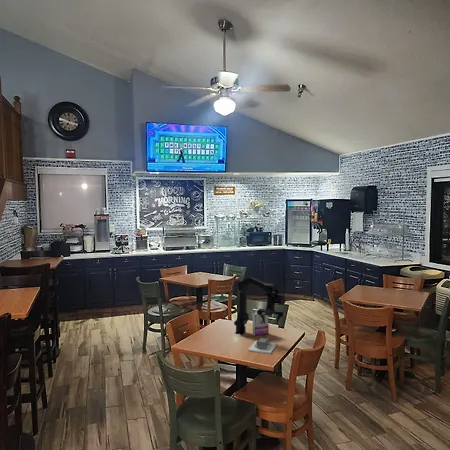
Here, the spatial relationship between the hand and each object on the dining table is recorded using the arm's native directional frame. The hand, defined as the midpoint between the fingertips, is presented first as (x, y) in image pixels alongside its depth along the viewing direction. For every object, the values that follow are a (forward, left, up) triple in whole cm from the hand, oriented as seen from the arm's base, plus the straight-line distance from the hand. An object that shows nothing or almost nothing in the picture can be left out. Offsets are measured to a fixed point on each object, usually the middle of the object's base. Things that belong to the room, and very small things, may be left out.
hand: (270, 324), depth 271 cm
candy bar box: (-11, +12, -12) cm, 20 cm away
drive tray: (-2, -14, -12) cm, 19 cm away
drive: (-2, -14, -11) cm, 18 cm away
